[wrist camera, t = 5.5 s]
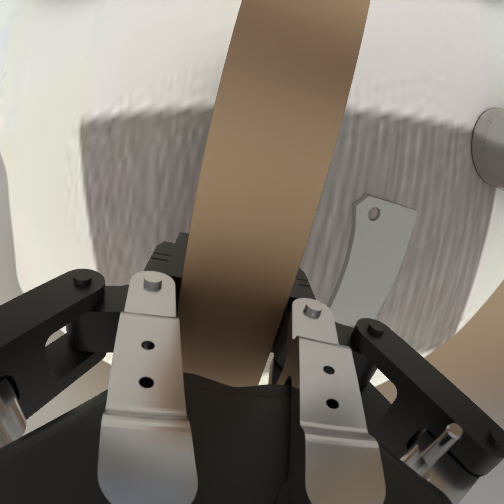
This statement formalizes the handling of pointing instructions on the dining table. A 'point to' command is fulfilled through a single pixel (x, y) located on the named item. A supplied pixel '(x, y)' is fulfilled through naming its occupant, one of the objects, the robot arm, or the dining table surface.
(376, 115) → the dining table surface
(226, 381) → the curved tan slat
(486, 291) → the dining table surface
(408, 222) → the kitchen cleaver
